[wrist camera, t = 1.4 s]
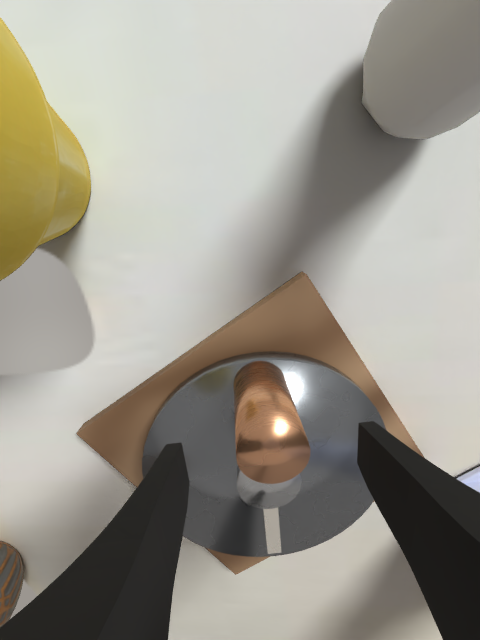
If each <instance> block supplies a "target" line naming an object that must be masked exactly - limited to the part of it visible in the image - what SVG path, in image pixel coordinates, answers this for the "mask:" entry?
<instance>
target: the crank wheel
mask: <svg viewBox="0 0 480 640" xmlns="http://www.w3.org/2000/svg"><path fill="white" fill-rule="evenodd" d="M370 421H374V422H376V423H377V424H378V425H380V426H381V427H382V428H384V429H385V430H386V428H385V425H384V422H383V419H382V418H381V416H380V414H379V412H378V410H377V409H376V407H375V406H374V405H373V403H372V402H371V401H370V400H369V398H368V397H367V396H366V395H365V393H364V392H363V391H362V390H361V388H360V387H359V386H358V385H357V384H356V383H355V382H354V381H353V380H352V379H351V378H349V377H348V376H347V375H346V374H344V373H343V372H341V371H340V370H338V369H337V368H335V367H333V366H331V365H329V364H327V363H325V362H323V361H320V360H317V359H315V358H312V357H309V356H305V355H300V354H295V353H290V352H277V351H267V352H253V353H247V354H241V355H236V356H233V357H230V358H226V359H223V360H220V361H218V362H216V363H213V364H211V365H209V366H206V367H205V368H203V369H201V370H199V371H198V372H196V373H194V374H193V375H191V376H190V377H189V378H187V379H186V380H185V381H184V382H182V383H181V384H180V385H179V386H178V387H177V388H176V389H175V390H174V391H173V392H172V393H171V394H170V395H169V396H168V397H167V399H166V400H165V401H164V403H163V404H162V406H161V407H160V409H159V410H158V412H157V414H156V416H155V418H154V420H153V423H152V425H151V428H150V431H149V433H148V436H147V439H146V442H145V445H144V451H143V457H142V474H143V478H144V477H145V476H146V474H147V473H148V471H149V470H150V468H151V467H152V465H153V464H154V462H155V461H156V459H157V457H158V456H159V454H160V453H161V451H162V450H163V448H164V446H165V445H166V444H172V443H181V442H182V447H183V452H184V457H185V462H186V467H187V472H188V477H189V495H188V507H187V514H186V519H185V525H184V530H183V536H184V537H185V538H187V539H189V540H191V541H192V542H194V543H196V544H199V545H201V546H203V547H205V548H208V549H211V550H214V551H217V552H221V553H226V554H230V555H237V556H246V557H267V556H278V555H284V554H290V553H294V552H298V551H302V550H305V549H308V548H311V547H314V546H316V545H318V544H321V543H323V542H325V541H327V540H329V539H331V538H333V537H334V536H336V535H338V534H339V533H341V532H342V531H344V530H345V529H346V528H348V527H349V526H351V525H352V524H353V523H354V522H355V521H356V520H357V519H358V518H360V517H361V516H362V515H363V513H364V512H365V511H366V510H367V509H368V508H369V507H370V505H371V504H372V502H373V501H374V499H373V497H372V495H371V493H370V492H369V490H368V488H367V485H366V483H365V481H364V478H363V476H362V474H361V471H360V469H359V466H358V464H357V451H358V426H359V423H361V422H370ZM386 431H387V430H386Z"/></svg>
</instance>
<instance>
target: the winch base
mask: <svg viewBox="0 0 480 640" xmlns="http://www.w3.org/2000/svg"><path fill="white" fill-rule="evenodd" d="M267 351H277V352H290V353H295V354H300V355H305V356H309V357H312V358H315V359H317V360H320V361H323V362H325V363H327V364H329V365H331V366H333V367H335V368H337V369H338V370H340V371H341V372H343V373H344V374H346V375H347V376H348V377H349V378H351V379H352V380H353V381H354V382H355V383H356V384H357V385H358V386H359V387H360V388H361V390H362V391H363V392H364V393H365V395H366V396H367V397H368V398H369V400H370V401H371V402H372V403H373V405H374V406H375V407H376V409H377V410H378V412H379V414H380V416H381V418H382V419H383V422H384V425H385V428H386V430H387V431H388V432H389V433H390V434H392V435H393V436H394V437H396V438H397V439H399V440H400V441H401V442H403V443H404V444H405V445H407V446H408V447H409V448H411V449H412V450H414V451H415V452H416V453H418V454H419V455H421V456H422V457H424V456H423V455H422V453H421V452H420V450H419V449H418V447H417V445H416V444H415V442H414V441H413V439H412V438H411V436H410V435H409V433H408V431H407V430H406V428H405V427H404V425H403V424H402V422H401V421H400V419H399V417H398V416H397V414H396V413H395V411H394V410H393V408H392V407H391V405H390V403H389V402H388V400H387V399H386V397H385V396H384V394H383V393H382V391H381V389H380V388H379V386H378V385H377V383H376V382H375V380H374V379H373V377H372V375H371V374H370V372H369V371H368V369H367V368H366V366H365V365H364V363H363V361H362V360H361V358H360V357H359V355H358V354H357V352H356V350H355V349H354V347H353V346H352V344H351V343H350V341H349V340H348V338H347V336H346V335H345V333H344V332H343V330H342V329H341V327H340V326H339V324H338V322H337V321H336V319H335V318H334V316H333V315H332V313H331V312H330V310H329V308H328V307H327V305H326V304H325V302H324V301H323V299H322V298H321V296H320V294H319V293H318V291H317V290H316V288H315V287H314V285H313V284H312V282H311V280H310V279H309V277H308V276H307V274H305V273H304V272H301V273H299V274H298V275H296V276H295V277H293V278H292V279H291V280H289V281H288V282H286V283H285V284H283V285H282V286H281V287H279V288H278V289H276V290H275V291H273V292H272V293H270V294H269V295H268V296H266V297H265V298H263V299H262V300H260V301H259V302H258V303H256V304H255V305H253V306H252V307H250V308H249V309H248V310H246V311H245V312H243V313H242V314H240V315H239V316H237V317H236V318H235V319H233V320H232V321H230V322H229V323H227V324H226V325H225V326H223V327H222V328H220V329H219V330H217V331H216V332H215V333H213V334H212V335H210V336H209V337H207V338H206V339H205V340H203V341H202V342H200V343H199V344H197V345H196V346H194V347H193V348H192V349H190V350H189V351H187V352H186V353H184V354H183V355H182V356H180V357H179V358H177V359H176V360H174V361H173V362H172V363H170V364H169V365H167V366H166V367H164V368H163V369H161V370H160V371H159V372H157V373H156V374H154V375H153V376H151V377H150V378H149V379H147V380H146V381H144V382H143V383H141V384H140V385H139V386H137V387H136V388H134V389H133V390H131V391H130V392H128V393H127V394H126V395H124V396H123V397H121V398H120V399H118V400H117V401H116V402H114V403H113V404H111V405H110V406H108V407H107V408H106V409H104V410H103V411H101V412H100V413H98V414H97V415H95V416H94V417H93V418H91V419H90V420H88V421H87V422H85V423H84V424H83V425H82V427H81V428H80V429H79V431H78V432H77V435H78V436H79V437H81V438H82V439H83V440H84V441H85V442H86V443H87V444H89V445H90V446H91V447H92V448H93V449H94V450H95V451H96V452H98V453H99V454H100V455H101V456H102V457H103V458H104V459H105V460H107V461H108V462H109V463H110V464H111V465H112V466H113V467H115V468H116V469H117V470H118V471H119V472H120V473H121V474H122V475H124V476H125V477H126V478H127V479H128V480H129V481H130V482H131V483H133V484H134V485H135V486H136V487H138V486H139V484H140V483H141V481H142V480H143V474H142V457H143V451H144V445H145V442H146V439H147V436H148V433H149V431H150V428H151V425H152V423H153V420H154V418H155V416H156V414H157V412H158V410H159V409H160V407H161V406H162V404H163V403H164V401H165V400H166V399H167V397H168V396H169V395H170V394H171V393H172V392H173V391H174V390H175V389H176V388H177V387H178V386H179V385H180V384H181V383H182V382H184V381H185V380H186V379H187V378H189V377H190V376H191V375H193V374H194V373H196V372H198V371H199V370H201V369H203V368H205V367H206V366H209V365H211V364H213V363H216V362H218V361H220V360H223V359H226V358H230V357H233V356H236V355H241V354H247V353H253V352H267ZM373 502H374V501H373ZM206 549H207V550H208V551H209V552H211V553H212V554H213V555H214V556H215V557H216V558H217V559H219V560H220V561H221V562H222V563H223V564H224V565H225V566H226V567H228V568H229V569H230V570H231V571H232V572H233V573H234V574H235V575H236V574H238V573H240V572H242V571H244V570H246V569H248V568H249V567H251V566H253V565H255V564H257V563H259V562H261V561H263V560H265V559H266V558H268V557H270V556H267V557H246V556H237V555H230V554H226V553H221V552H217V551H214V550H211V549H208V548H206Z"/></svg>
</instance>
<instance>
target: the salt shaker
mask: <svg viewBox="0 0 480 640" xmlns="http://www.w3.org/2000/svg"><path fill="white" fill-rule="evenodd" d="M362 104H363V106H364V107H365V108H366V110H367V111H368V112H369V114H370V115H371V116H372V117H373V119H374V120H375V121H376V123H377V124H378V125H379V127H380V128H381V129H382V131H383V132H386V133H388V134H390V135H392V136H395V137H400V138H411V139H422V140H423V139H428V138H431V137H434V136H436V135H439V134H441V133H444V132H446V131H449V130H451V129H454V128H456V127H458V126H460V125H461V124H463V123H464V122H466V121H467V120H468V119H470V118H471V117H473V116H474V115H476V114H477V113H479V112H480V0H392V1H391V2H390V3H389V4H388V5H387V6H386V7H385V9H384V10H383V11H382V12H381V13H380V15H379V17H378V19H377V21H376V23H375V26H374V29H373V32H372V35H371V38H370V41H369V44H368V47H367V50H366V53H365V56H364V59H363V97H362Z"/></svg>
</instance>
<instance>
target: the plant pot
mask: <svg viewBox="0 0 480 640" xmlns="http://www.w3.org/2000/svg"><path fill="white" fill-rule="evenodd" d="M90 193H91V180H90V171H89V167H88V162H87V159H86V157H85V154H84V152H83V149H82V147H81V145H80V143H79V142H78V140H77V138H76V137H75V135H74V134H73V133H72V132H71V130H70V129H69V128H68V127H67V125H66V124H65V123H64V122H63V121H62V119H61V118H60V117H59V116H58V115H57V113H56V112H55V111H54V110H53V108H52V107H51V106H50V105H49V103H48V102H47V100H46V98H45V95H44V92H43V90H42V88H41V85H40V83H39V81H38V79H37V76H36V74H35V72H34V70H33V68H32V66H31V64H30V62H29V60H28V59H27V57H26V55H25V53H24V52H23V50H22V48H21V47H20V45H19V44H18V42H17V41H16V39H15V37H14V36H13V34H12V33H11V31H10V30H9V29H8V27H7V26H6V24H5V23H4V22H3V20H2V19H1V18H0V281H1V280H2V279H4V278H6V277H7V276H9V275H10V274H11V273H13V272H14V271H15V270H16V269H18V268H19V267H20V266H21V265H22V264H23V263H24V262H25V261H26V260H27V259H28V258H29V257H30V256H31V254H32V253H33V252H34V251H35V249H36V248H37V247H38V246H39V245H41V244H43V243H45V242H48V241H50V240H52V239H54V238H56V237H59V236H61V235H63V234H65V233H66V232H68V231H69V230H70V229H71V228H73V227H74V226H75V225H76V224H77V223H78V221H79V220H80V219H81V218H82V216H83V214H84V213H85V211H86V208H87V205H88V202H89V198H90Z"/></svg>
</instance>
